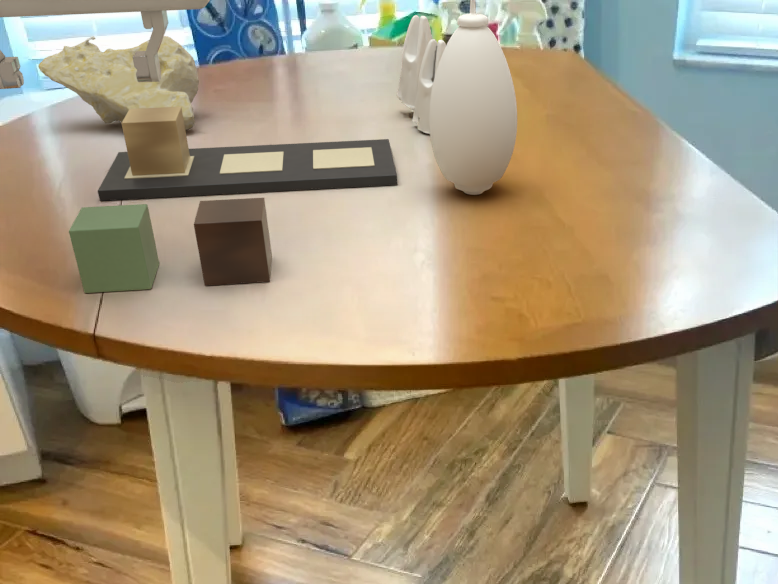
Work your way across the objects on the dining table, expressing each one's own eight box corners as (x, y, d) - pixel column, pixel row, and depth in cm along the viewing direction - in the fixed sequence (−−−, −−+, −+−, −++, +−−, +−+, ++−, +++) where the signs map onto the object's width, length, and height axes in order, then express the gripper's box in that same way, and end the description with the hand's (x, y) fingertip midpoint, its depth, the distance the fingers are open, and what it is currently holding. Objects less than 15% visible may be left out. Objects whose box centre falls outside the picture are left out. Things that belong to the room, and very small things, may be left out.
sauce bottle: (530, 187, 92) (536, -22, 82) (485, 211, 86) (486, -8, 76) (462, 173, 95) (460, -28, 85) (416, 195, 90) (407, -16, 80)
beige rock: (233, 134, 114) (164, 36, 116) (228, 99, 107) (154, -5, 109) (119, 195, 111) (49, 94, 112) (106, 164, 104) (31, 55, 105)
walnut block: (204, 286, 74) (193, 223, 71) (210, 260, 78) (199, 200, 75) (270, 282, 74) (261, 219, 72) (272, 256, 78) (264, 197, 76)
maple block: (132, 175, 92) (121, 122, 90) (139, 159, 97) (129, 108, 94) (185, 172, 93) (175, 120, 90) (190, 157, 97) (181, 106, 94)
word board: (99, 201, 90) (97, 189, 89) (120, 161, 100) (118, 151, 99) (397, 185, 93) (397, 173, 92) (389, 148, 102) (388, 137, 102)
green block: (84, 293, 73) (68, 230, 70) (96, 267, 77) (81, 207, 74) (151, 289, 74) (138, 226, 71) (159, 263, 78) (147, 203, 75)
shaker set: (396, 111, 114) (391, 10, 108) (430, 108, 116) (427, 7, 109) (424, 139, 105) (420, 30, 99) (460, 135, 106) (459, 27, 100)
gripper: (202, -157, 63) (234, 66, 71) (-126, -149, 61) (-56, 79, 69) (193, -153, 58) (228, 87, 65) (-166, -144, 56) (-85, 102, 63)
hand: (81, 83), depth 67 cm, fingers open, 8 cm apart
